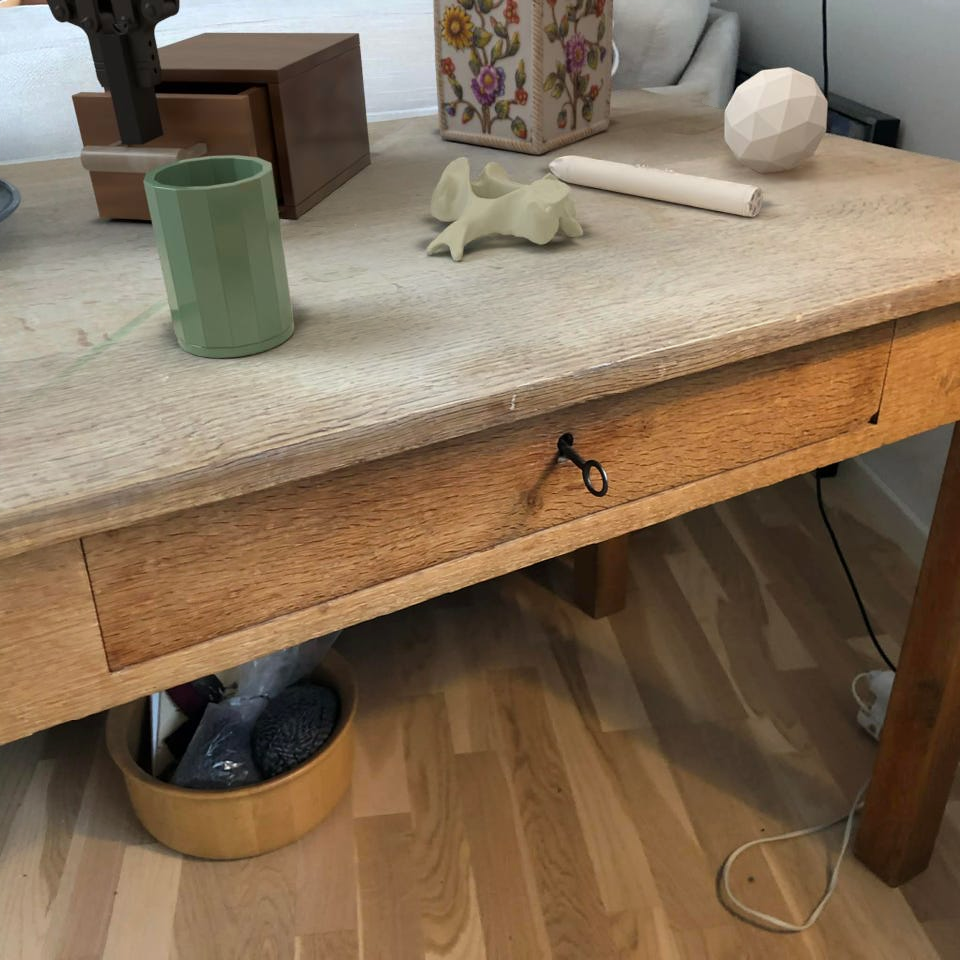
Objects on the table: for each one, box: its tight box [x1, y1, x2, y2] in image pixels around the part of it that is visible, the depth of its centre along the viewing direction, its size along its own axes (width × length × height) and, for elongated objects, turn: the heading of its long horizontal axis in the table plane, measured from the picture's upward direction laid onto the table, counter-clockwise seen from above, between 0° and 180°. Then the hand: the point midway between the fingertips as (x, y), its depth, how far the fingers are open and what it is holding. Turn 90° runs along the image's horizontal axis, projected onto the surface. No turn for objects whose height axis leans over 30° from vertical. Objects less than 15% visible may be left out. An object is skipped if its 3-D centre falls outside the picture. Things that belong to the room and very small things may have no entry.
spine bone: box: [426, 156, 584, 262], centre depth 68 cm, size 12×10×5 cm
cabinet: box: [103, 32, 372, 220], centre depth 80 cm, size 16×14×10 cm
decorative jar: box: [432, 0, 614, 156], centre depth 89 cm, size 12×12×18 cm
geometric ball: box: [724, 66, 829, 174], centre depth 79 cm, size 8×8×8 cm
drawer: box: [71, 82, 283, 221], centre depth 74 cm, size 19×13×8 cm, turn 165°
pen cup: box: [143, 155, 295, 359], centre depth 54 cm, size 6×6×9 cm
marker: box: [548, 155, 764, 218], centre depth 76 cm, size 18×2×2 cm, turn 50°
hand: (143, 139), depth 66 cm, fingers closed
